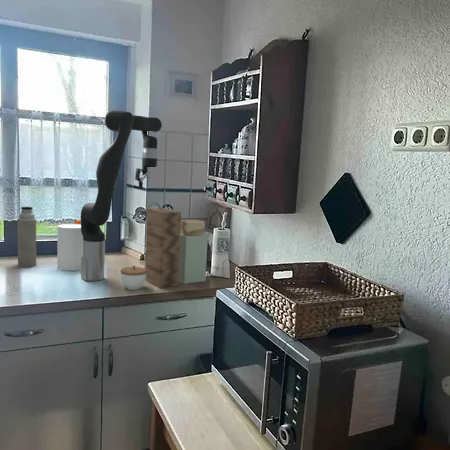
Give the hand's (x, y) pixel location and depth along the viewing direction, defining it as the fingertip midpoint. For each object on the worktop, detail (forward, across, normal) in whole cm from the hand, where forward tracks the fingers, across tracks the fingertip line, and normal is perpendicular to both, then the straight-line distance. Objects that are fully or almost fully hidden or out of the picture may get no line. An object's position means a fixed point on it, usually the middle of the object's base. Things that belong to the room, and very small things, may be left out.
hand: (148, 189), depth 231 cm
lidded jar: (+38, -26, -42) cm, 63 cm away
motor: (+38, -30, +18) cm, 52 cm away
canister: (+38, -38, +2) cm, 54 cm away
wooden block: (+17, +2, -33) cm, 37 cm away
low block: (+38, +2, -39) cm, 55 cm away
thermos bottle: (+38, -56, +13) cm, 69 cm away
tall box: (+38, -12, -40) cm, 57 cm away
